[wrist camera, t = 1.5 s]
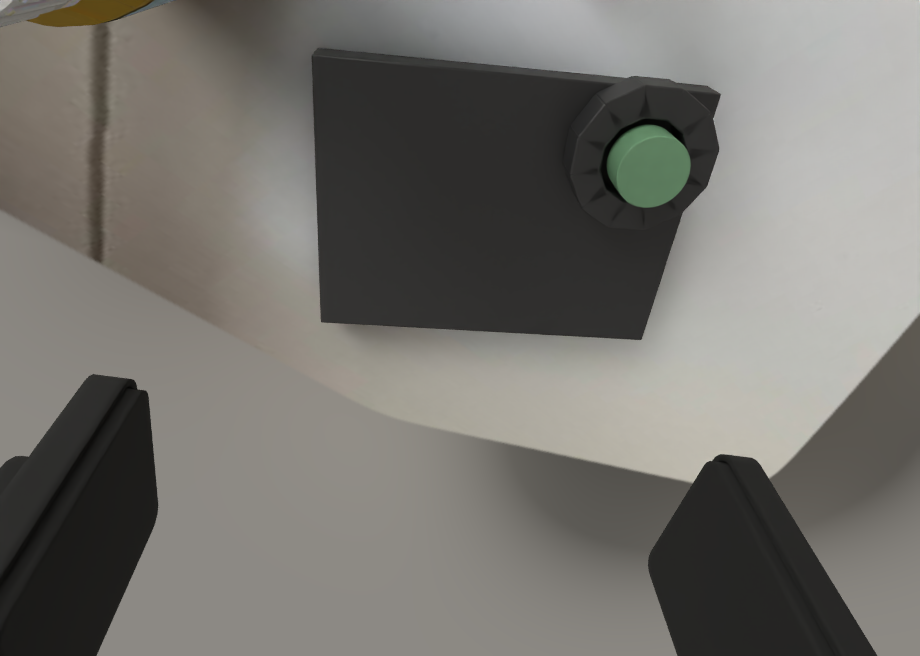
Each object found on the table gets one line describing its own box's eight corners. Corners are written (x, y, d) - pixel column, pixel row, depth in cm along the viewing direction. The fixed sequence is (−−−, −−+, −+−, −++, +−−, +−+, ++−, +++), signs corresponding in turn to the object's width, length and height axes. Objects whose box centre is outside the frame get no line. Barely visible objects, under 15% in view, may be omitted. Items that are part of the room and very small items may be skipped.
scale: (711, 76, 25) (742, 94, 22) (633, 325, 32) (651, 359, 29) (316, 37, 23) (303, 51, 21) (324, 307, 30) (315, 342, 28)
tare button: (685, 127, 23) (701, 139, 22) (665, 195, 25) (678, 210, 24) (615, 120, 23) (626, 132, 22) (599, 190, 25) (608, 205, 23)
